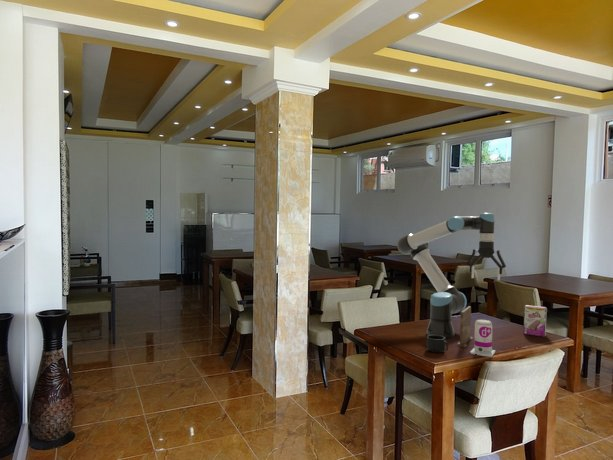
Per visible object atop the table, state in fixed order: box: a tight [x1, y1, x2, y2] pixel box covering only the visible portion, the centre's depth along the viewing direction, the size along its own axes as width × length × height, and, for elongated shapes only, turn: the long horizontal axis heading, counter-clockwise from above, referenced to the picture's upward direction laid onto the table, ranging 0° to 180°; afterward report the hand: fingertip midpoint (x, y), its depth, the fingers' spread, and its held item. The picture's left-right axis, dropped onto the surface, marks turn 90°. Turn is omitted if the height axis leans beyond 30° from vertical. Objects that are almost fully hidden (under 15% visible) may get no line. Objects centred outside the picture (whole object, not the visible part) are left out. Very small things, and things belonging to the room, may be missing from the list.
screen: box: [456, 305, 474, 348], centre depth 239 cm, size 4×18×18 cm, turn 147°
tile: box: [469, 347, 496, 358], centre depth 223 cm, size 10×10×1 cm
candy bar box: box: [523, 304, 548, 338], centre depth 256 cm, size 11×5×16 cm, turn 58°
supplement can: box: [473, 319, 493, 353], centre depth 222 cm, size 8×8×15 cm
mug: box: [426, 334, 449, 353], centre depth 223 cm, size 12×9×7 cm
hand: (485, 279), depth 248 cm, fingers open, 13 cm apart
